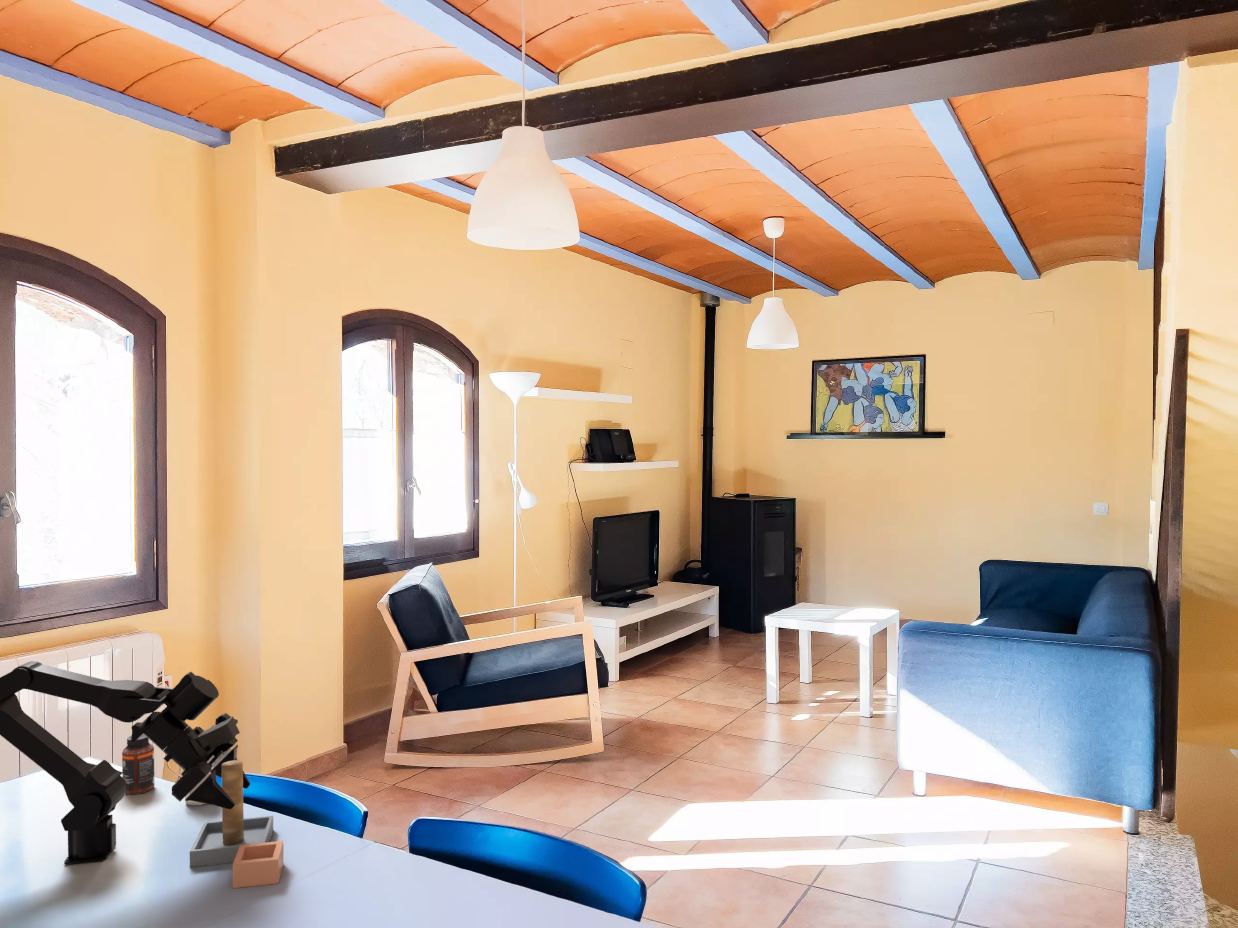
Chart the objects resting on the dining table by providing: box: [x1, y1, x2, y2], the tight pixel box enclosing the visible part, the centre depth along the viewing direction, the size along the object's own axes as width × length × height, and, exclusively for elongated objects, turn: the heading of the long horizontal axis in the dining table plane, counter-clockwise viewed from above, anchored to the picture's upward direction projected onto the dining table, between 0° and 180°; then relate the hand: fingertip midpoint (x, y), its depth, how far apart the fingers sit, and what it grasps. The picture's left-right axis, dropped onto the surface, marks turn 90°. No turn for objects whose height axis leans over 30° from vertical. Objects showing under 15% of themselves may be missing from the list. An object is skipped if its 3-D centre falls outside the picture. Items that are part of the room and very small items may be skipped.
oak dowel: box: [221, 759, 244, 845], centre depth 159 cm, size 4×4×14 cm
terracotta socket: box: [232, 840, 285, 889], centre depth 149 cm, size 7×7×4 cm
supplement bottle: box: [121, 735, 156, 795], centre depth 185 cm, size 6×6×11 cm
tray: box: [189, 815, 274, 868], centre depth 159 cm, size 12×12×3 cm
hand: (241, 796), depth 159 cm, fingers open, 9 cm apart
